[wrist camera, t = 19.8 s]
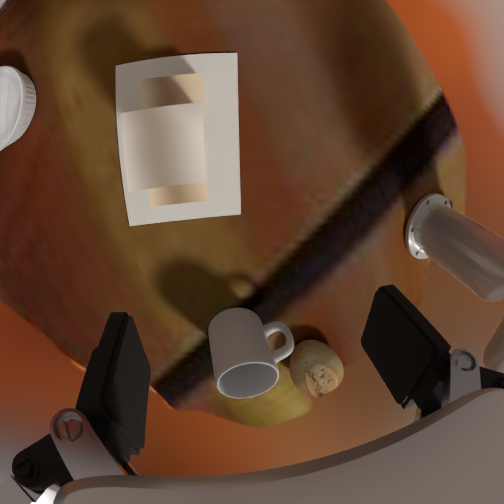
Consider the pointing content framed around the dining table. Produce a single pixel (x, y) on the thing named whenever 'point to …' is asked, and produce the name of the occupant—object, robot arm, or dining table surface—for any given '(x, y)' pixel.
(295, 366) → the bread roll
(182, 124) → the birch cube
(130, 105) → the felt mat
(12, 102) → the ramekin
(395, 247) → the dining table surface
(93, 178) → the dining table surface
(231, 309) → the mug
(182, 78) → the maple block
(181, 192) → the maple block
